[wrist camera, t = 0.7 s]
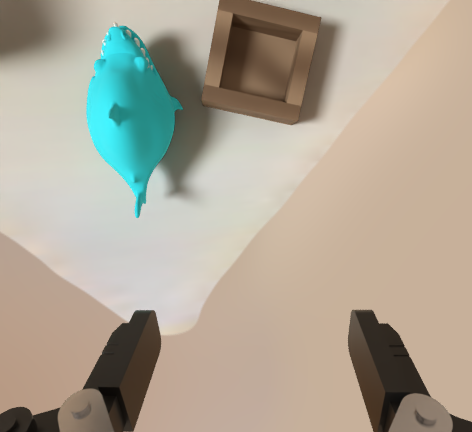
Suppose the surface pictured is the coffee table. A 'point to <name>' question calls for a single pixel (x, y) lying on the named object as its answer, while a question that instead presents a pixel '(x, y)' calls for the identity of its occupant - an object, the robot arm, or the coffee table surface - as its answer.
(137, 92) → the toy shark
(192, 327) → the coffee table surface
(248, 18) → the socket base
